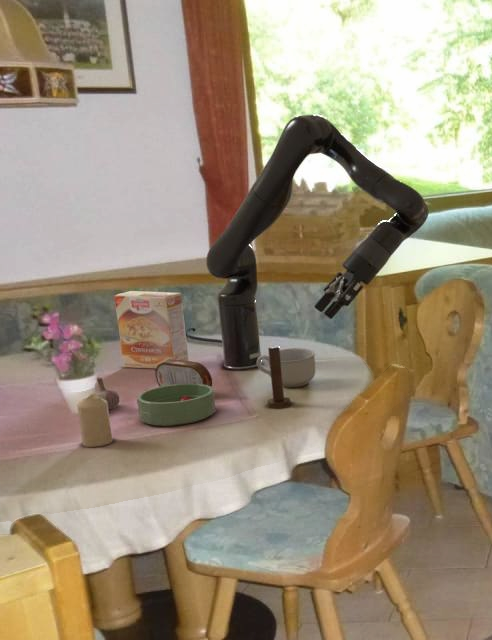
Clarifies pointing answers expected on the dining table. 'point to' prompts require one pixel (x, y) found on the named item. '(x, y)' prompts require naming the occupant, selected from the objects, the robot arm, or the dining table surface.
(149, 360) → the coffeecake box
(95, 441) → the candle
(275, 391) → the muddler
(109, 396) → the garlic bulb
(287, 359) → the teacup
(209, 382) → the tin
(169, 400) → the bowl
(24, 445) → the dining table surface
